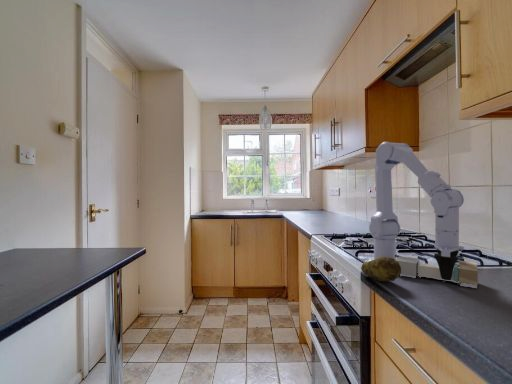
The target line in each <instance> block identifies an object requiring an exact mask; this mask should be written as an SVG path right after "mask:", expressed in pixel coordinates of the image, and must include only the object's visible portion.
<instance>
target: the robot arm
mask: <svg viewBox="0 0 512 384" xmlns="http://www.w3.org/2000/svg"><path fill="white" fill-rule="evenodd" d="M413 151H414V149H413V148H412V147H411V146H410V145H409V144H408V143H406V142H401V143H400V142H389V141H383V142H382V143H380V144H379V145H378V147H377V148H376V149H375V164H374V177H375V178H374V179H375V181H374V182H375V183H374V184H375V203H376V204H375V206H376V207H375V209H376V210H375V211H376V212H374V214H373V215H372V216H371V217H370V223H369V229H368V230H369V233H370V235H371V236H372V239H373V259H376V258H379V257H388V258H389V257H390V258H393V259H395V255H396V256H397V242H396V239H397V238H398V235H399V234H400V233H401V225H400V223H399V218H398V216H397V215H396V214H395V213H394V211H393V209H394V208H393V187H392V186H393V185H392V170H393V168H394V167H396V166H397V165H399V164H400V163H402V164H403V165H405V166H406V167H407V169H409V170H410V172H412V173H413V174H414V175H415V176H416V177H417V184H418V185H419V186H420V187H421V189H422V190H424V192H425V193H426V194H427V195H428V196H429V197H430V204H431V207H433V209H434V214H435V218H434V219H435V220H434V221H435V223H434V224H435V228H434V230H435V231H434V233H435V235H434V236H435V237H434V241H435V242H434V248H435V250H436V252H435V253H434V254H433V255H434V258H435V260H436V262H437V265H439V269H440V275H441V278H442V279H444V280H451V277H452V273H453V268H454V265H455V264H457V262H458V260H459V256H458V255H459V251H460V250H461V251H463V250H464V249H465V247H464V245H463V246H462V245H460V236H459V235H460V208H461V207H462V206H463V204H464V199H465V198H464V195H463V194H462V193H461V191H460V190H459V189H455V188H452V186H451V185H450V184H447V183H446V182H445V180H443V178H442V177H441V174H440V173H439V172H438V171H437V172H436V171H434V170H428V169H427V168H426V166H425V165H424V163H422V162H421V160H420V159H419V157H417V155H415V153H414V152H413Z"/></svg>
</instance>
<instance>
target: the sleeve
mask: <svg viewBox="0 0 512 384" xmlns="http://www.w3.org/2000/svg"><path fill="white" fill-rule="evenodd" d="M396 258H397V259H396V261H397V262H398V263H399V265H400V267H401V274H405V275H411V276H417V277H418V274H417V272H418V264H419V263H420V261H419V260H420V259H419V258H416V257H408V256H401V255H399V256H397V257H396Z"/></svg>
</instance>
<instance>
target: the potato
mask: <svg viewBox="0 0 512 384" xmlns="http://www.w3.org/2000/svg"><path fill="white" fill-rule="evenodd" d="M373 259H374V258H373ZM371 260H372V259H371ZM371 260H368V261H364V262H363V263H362V264H361V266H360V270H361V272H362V273H363V274H364V275H365V276H366V277H368V278H371V277H372V278H371V279H373V278H374V279H373V280H375V281H378V280H380V281H379V282H384V281H386V282H390V281H391V282H394V281H395V280H396V279H397V278H399V277H400V276H399V275H400V274H401V267H400V265H399V263H398V262H397V261H396V260H395V259H393V258H390V257H389V258H388V257H379V258H376V259H374V260H372V261H371Z"/></svg>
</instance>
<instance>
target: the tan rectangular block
mask: <svg viewBox="0 0 512 384" xmlns="http://www.w3.org/2000/svg"><path fill="white" fill-rule="evenodd" d="M477 263H478V262H474V261H473V262H472V261H465V260H459V264H458V268H459V283H466V284H472V285H478V284H479V283H478V281H479V280H478V279H479V277H478V273H479V272H478V271H479V267H478V264H477Z"/></svg>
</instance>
